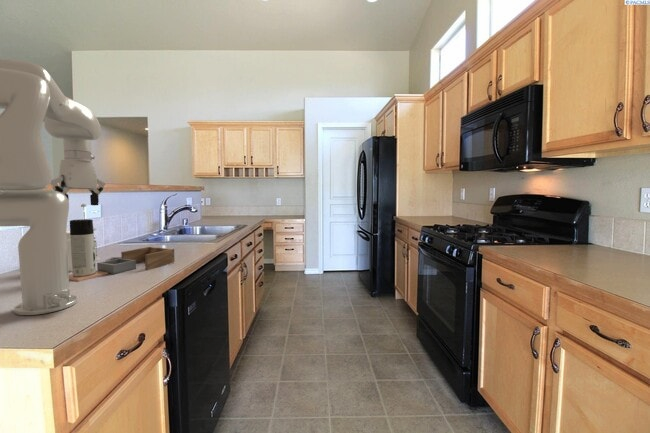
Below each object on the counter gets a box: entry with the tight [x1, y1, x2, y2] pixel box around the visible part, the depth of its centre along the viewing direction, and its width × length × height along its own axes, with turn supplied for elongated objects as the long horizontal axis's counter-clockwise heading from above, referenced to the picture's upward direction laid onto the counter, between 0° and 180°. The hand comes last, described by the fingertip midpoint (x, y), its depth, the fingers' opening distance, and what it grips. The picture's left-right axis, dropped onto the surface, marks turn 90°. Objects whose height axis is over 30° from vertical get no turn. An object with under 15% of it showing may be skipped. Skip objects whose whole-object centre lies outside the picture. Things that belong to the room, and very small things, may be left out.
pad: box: [69, 270, 109, 282], centre depth 112 cm, size 10×10×1 cm
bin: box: [96, 258, 137, 275], centre depth 120 cm, size 9×9×4 cm
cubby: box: [120, 246, 175, 271], centre depth 130 cm, size 14×13×6 cm
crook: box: [105, 256, 122, 261], centre depth 136 cm, size 14×6×1 cm, turn 98°
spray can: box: [69, 218, 97, 277], centre depth 111 cm, size 7×7×20 cm
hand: (80, 205), depth 109 cm, fingers open, 9 cm apart
